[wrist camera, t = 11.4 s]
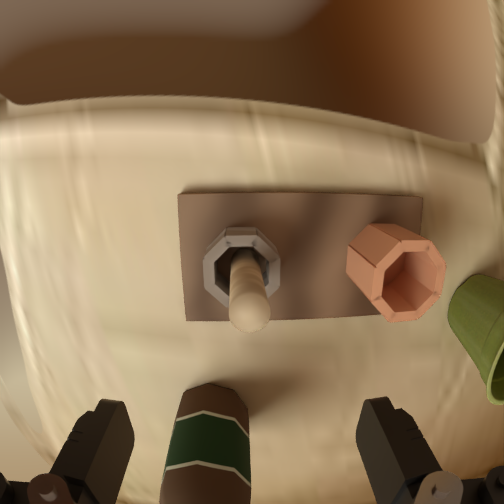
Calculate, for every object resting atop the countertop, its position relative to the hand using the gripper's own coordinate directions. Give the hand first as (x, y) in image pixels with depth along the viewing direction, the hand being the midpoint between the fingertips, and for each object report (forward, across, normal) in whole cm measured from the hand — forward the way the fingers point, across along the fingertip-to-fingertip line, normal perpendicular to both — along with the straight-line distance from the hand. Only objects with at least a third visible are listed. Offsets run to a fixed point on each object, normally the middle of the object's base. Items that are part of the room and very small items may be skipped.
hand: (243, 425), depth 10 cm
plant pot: (+19, -25, +6) cm, 32 cm away
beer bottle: (+19, +4, +17) cm, 26 cm away
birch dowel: (+18, 0, 0) cm, 18 cm away
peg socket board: (+19, -5, 0) cm, 20 cm away
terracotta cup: (+18, -12, 0) cm, 22 cm away
